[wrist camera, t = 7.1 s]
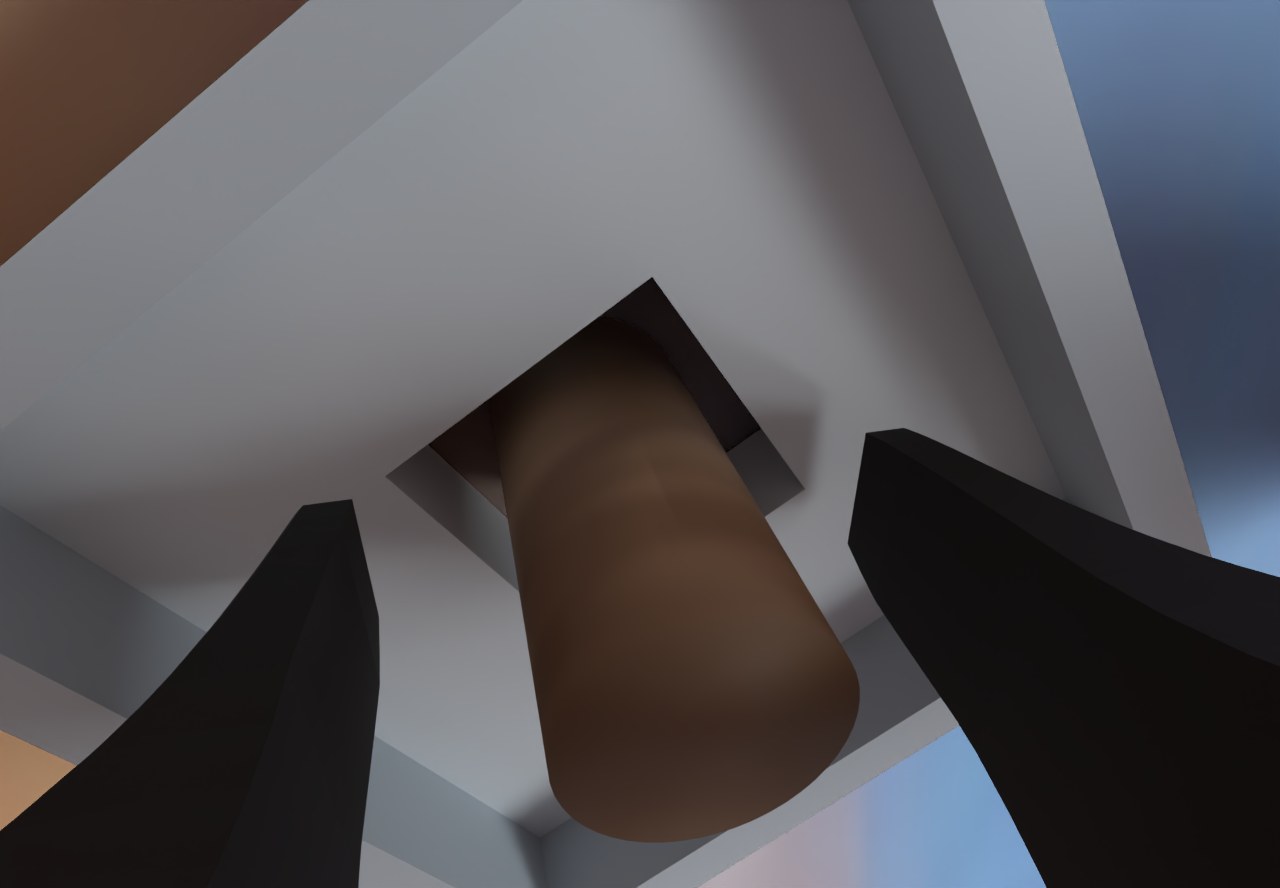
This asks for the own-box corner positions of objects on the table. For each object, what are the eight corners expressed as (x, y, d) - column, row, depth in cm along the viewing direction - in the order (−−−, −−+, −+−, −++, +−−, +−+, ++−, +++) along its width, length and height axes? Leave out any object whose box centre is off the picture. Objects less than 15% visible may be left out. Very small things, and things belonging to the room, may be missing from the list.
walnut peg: (620, 279, 13) (789, 559, 7) (707, 422, 15) (899, 740, 9) (451, 385, 13) (480, 739, 7) (556, 513, 15) (646, 880, 9)
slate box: (721, -347, 9) (891, -503, 6) (1057, 444, 17) (1214, 568, 14) (-123, 380, 11) (-350, 567, 8) (521, 797, 19) (544, 981, 15)
